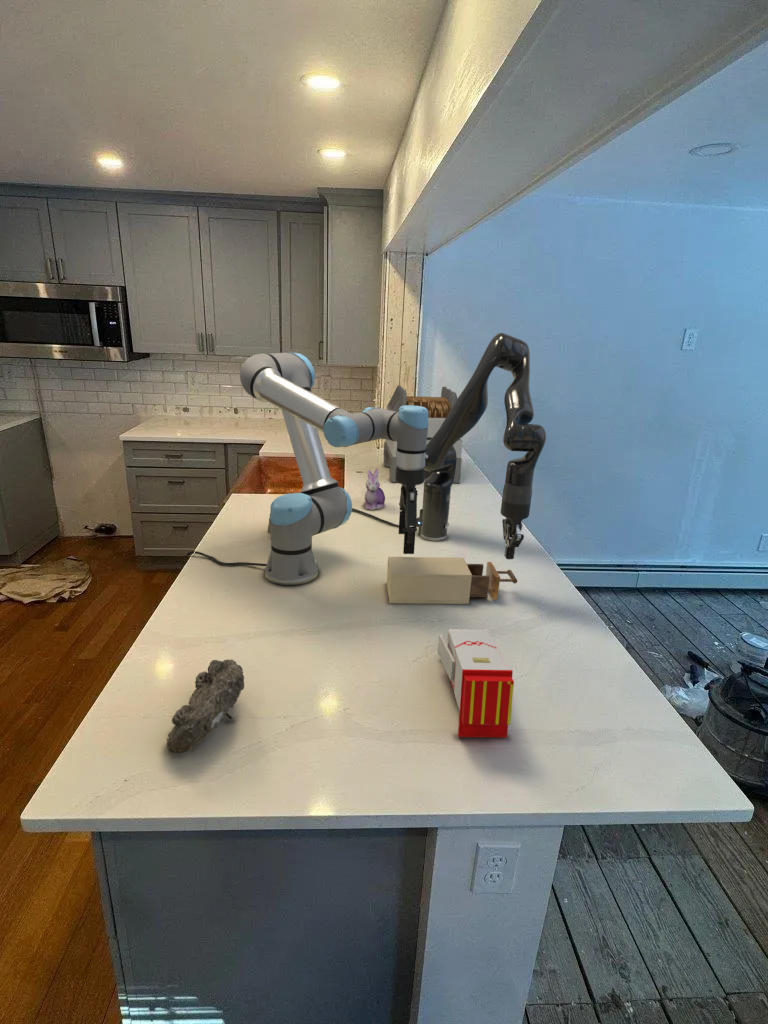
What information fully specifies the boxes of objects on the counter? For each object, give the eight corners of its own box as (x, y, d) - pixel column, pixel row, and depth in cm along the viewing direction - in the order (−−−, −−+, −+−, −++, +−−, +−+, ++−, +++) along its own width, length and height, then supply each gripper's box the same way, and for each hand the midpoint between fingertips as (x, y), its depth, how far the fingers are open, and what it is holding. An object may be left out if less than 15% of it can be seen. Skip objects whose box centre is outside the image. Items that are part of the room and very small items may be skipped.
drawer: (507, 583, 165) (510, 562, 162) (517, 600, 156) (520, 577, 153) (418, 582, 163) (420, 561, 160) (423, 599, 154) (425, 576, 151)
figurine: (369, 511, 219) (370, 474, 214) (358, 503, 228) (359, 467, 223) (390, 509, 224) (392, 472, 219) (378, 501, 232) (380, 465, 227)
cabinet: (460, 585, 165) (463, 557, 162) (468, 603, 154) (471, 574, 151) (386, 584, 163) (388, 556, 160) (389, 603, 153) (391, 573, 150)
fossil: (192, 660, 117) (244, 628, 112) (224, 691, 120) (276, 661, 115) (142, 746, 98) (202, 712, 93) (182, 779, 101) (242, 748, 96)
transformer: (382, 463, 289) (386, 382, 275) (445, 464, 293) (451, 384, 279) (390, 482, 257) (394, 392, 243) (460, 483, 261) (468, 394, 247)
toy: (488, 613, 130) (523, 677, 101) (484, 667, 133) (517, 744, 104) (435, 612, 130) (455, 676, 101) (432, 666, 133) (451, 743, 103)
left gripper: (432, 481, 134) (425, 562, 142) (419, 455, 158) (414, 526, 165) (400, 480, 134) (396, 562, 141) (392, 454, 157) (388, 526, 164)
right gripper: (538, 507, 145) (529, 568, 151) (523, 491, 157) (515, 548, 163) (509, 506, 144) (501, 568, 150) (496, 490, 156) (489, 548, 162)
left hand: (405, 543), depth 153 cm, fingers open, 13 cm apart
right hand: (508, 558), depth 156 cm, fingers closed
